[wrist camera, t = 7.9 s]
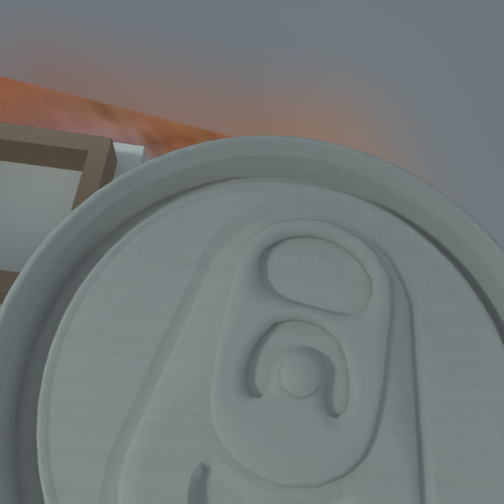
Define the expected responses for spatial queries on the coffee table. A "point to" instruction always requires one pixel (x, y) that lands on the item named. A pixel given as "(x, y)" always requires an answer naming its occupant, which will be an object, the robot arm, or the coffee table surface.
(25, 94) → the coffee table surface
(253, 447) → the beer can
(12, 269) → the display plinth
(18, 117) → the coffee table surface
